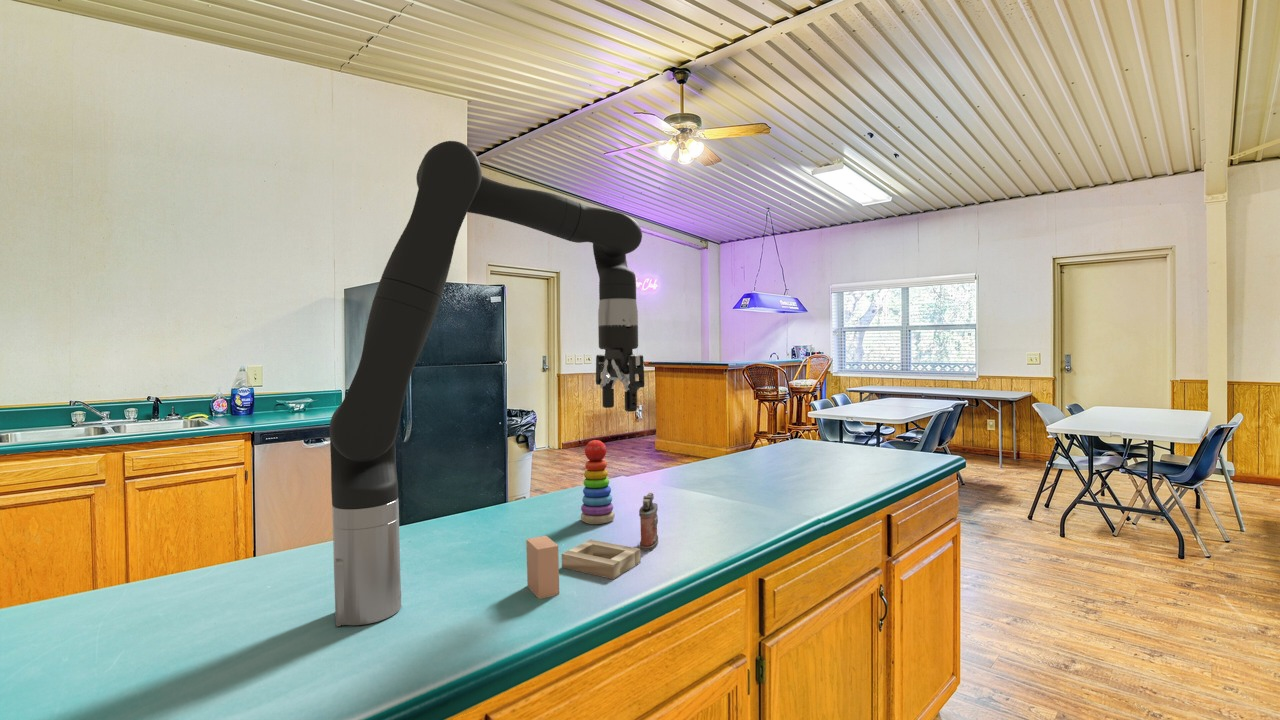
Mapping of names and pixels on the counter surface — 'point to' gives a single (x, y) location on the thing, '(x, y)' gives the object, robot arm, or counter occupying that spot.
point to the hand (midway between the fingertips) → (619, 409)
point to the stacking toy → (596, 486)
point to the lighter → (648, 523)
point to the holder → (601, 558)
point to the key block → (542, 566)
